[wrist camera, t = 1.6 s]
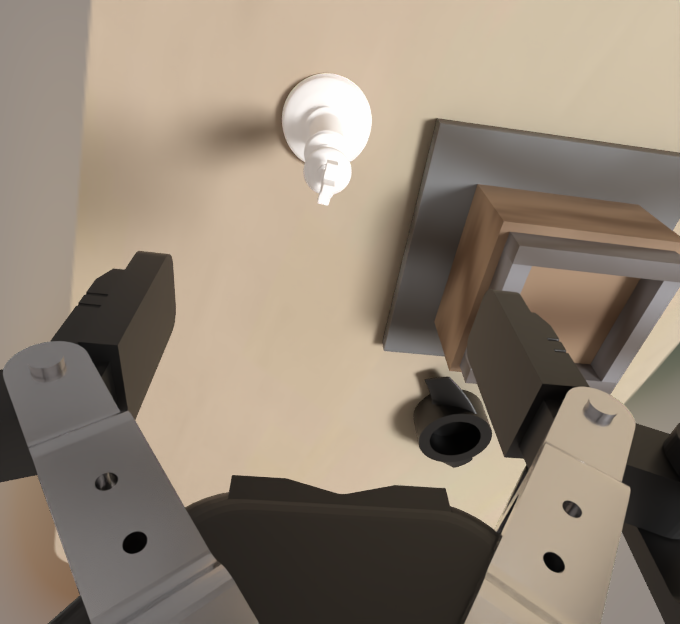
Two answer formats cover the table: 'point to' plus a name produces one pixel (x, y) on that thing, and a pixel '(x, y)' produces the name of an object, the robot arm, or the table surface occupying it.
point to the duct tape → (451, 423)
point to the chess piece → (326, 130)
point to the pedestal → (539, 244)
